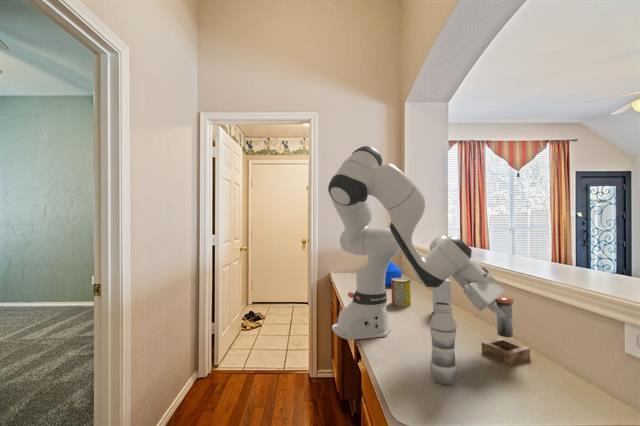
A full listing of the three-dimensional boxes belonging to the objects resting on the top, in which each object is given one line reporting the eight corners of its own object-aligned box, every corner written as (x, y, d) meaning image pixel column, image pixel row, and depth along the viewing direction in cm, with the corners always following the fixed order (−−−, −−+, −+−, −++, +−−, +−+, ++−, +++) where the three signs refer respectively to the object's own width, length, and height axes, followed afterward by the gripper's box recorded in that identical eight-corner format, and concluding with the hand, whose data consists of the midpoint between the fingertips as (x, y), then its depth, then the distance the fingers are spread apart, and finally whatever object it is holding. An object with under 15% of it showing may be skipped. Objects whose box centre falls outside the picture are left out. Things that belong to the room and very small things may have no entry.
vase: (405, 283, 187) (405, 253, 188) (396, 289, 172) (396, 256, 172) (378, 280, 197) (378, 252, 198) (368, 285, 182) (367, 255, 182)
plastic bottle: (425, 375, 78) (424, 300, 78) (449, 373, 79) (447, 300, 79) (437, 389, 72) (435, 308, 72) (463, 387, 72) (461, 307, 73)
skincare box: (452, 318, 121) (451, 281, 122) (435, 317, 123) (434, 280, 123) (447, 311, 129) (446, 277, 130) (432, 311, 131) (431, 276, 131)
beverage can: (390, 301, 147) (389, 277, 147) (407, 301, 147) (407, 277, 147) (394, 306, 138) (393, 281, 138) (413, 306, 138) (412, 281, 138)
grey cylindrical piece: (507, 339, 85) (506, 301, 85) (492, 333, 90) (491, 297, 90) (518, 336, 87) (517, 299, 87) (502, 330, 91) (501, 295, 92)
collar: (510, 364, 83) (509, 354, 83) (481, 351, 91) (481, 342, 91) (530, 358, 86) (529, 348, 86) (501, 346, 94) (500, 337, 95)
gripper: (467, 276, 86) (506, 317, 79) (487, 267, 101) (522, 301, 93) (452, 289, 89) (488, 329, 82) (474, 278, 104) (506, 312, 97)
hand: (506, 314), depth 88 cm, fingers closed on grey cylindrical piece, 4 cm apart
